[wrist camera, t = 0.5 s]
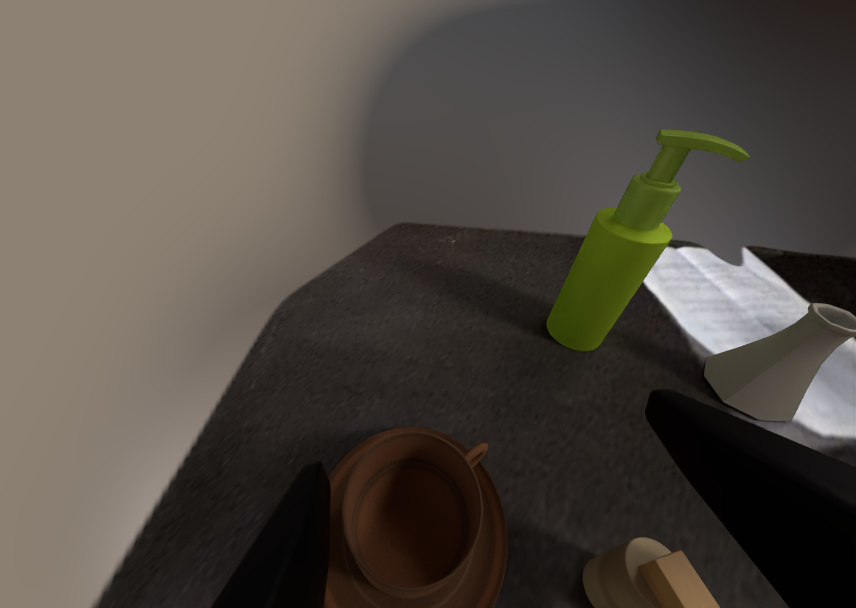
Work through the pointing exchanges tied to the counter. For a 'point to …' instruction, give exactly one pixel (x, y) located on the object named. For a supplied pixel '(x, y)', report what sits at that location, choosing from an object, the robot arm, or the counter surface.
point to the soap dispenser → (625, 244)
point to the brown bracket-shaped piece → (644, 578)
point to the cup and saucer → (415, 525)
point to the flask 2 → (779, 364)
